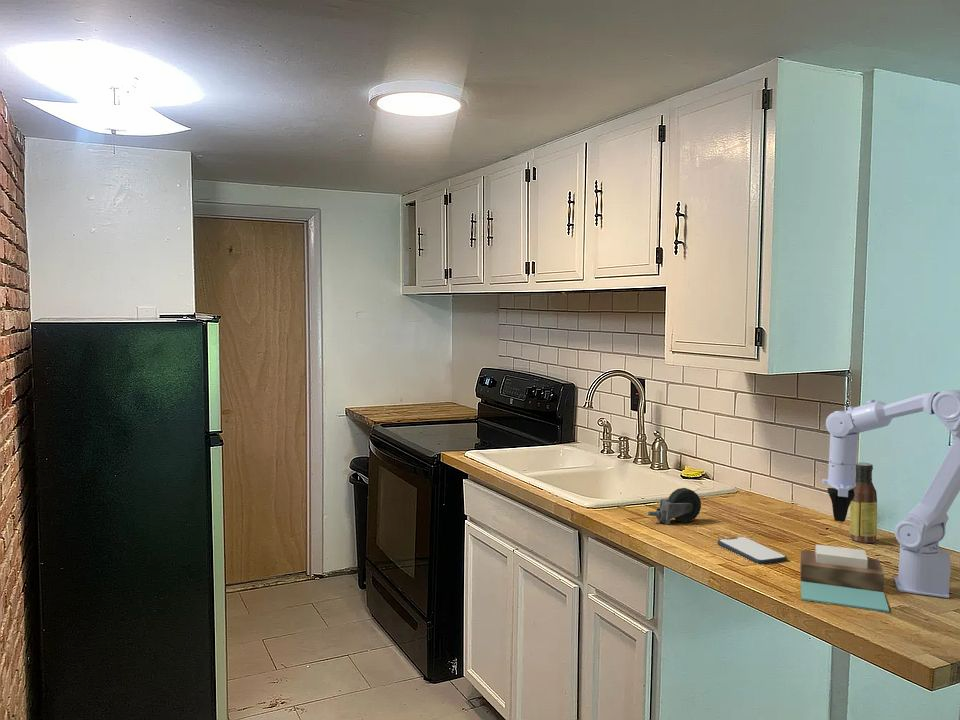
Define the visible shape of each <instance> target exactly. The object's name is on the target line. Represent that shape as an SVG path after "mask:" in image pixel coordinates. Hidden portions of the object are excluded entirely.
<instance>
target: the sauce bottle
mask: <svg viewBox="0 0 960 720" xmlns="http://www.w3.org/2000/svg"><path fill="white" fill-rule="evenodd" d="M873 470H874V466H873V464H872V463H869V462H856V476H855V482H856V487H854V488H852V489H853V490H854V493H855V496H854V498H853V499H852V501H851V503H850V505H849V537H850V539H851V540H852V541H855V542H857V541H858V543H862V544H873V543H876V541H877V536H878V498H877V497H878V496H877V495H878V494H877V490H876V488H875V486H874V483H873Z"/></svg>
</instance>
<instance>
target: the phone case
mask: <svg viewBox="0 0 960 720" xmlns="http://www.w3.org/2000/svg"><path fill="white" fill-rule="evenodd" d="M717 540H718V541H717V546H718V545H719V546H718V547H720V546H721V547H720V548H722V547H723V548H722V549H724V548H726V549H725V550H727V549H728V550H727V551H729V550H730V551H729V552H731V551H732V552H731V553H733V552H734V553H733V554H735V553H736V554H735V555H737V554H739V555H741V556H743V557H745V558H744V559H746V558H747V559H746V560H748V559H749V560H748V561H750V560H751V561H750V562H752V561H753V562H752V563H754V562H755V564H756V563H758V564H757V565H761V564H764V565H770V564H769V563H772V564H777V563H776V562H779V563H784V562H783V561H786V562H787V560H788V558H787V556H786V555H785V554H783V553H780V552H779V551H777V550H774V549H772V548H770V547H768V546H765V545H762V544H761V543H759V542H757V541H754V540H752V539H750V538H748V537H744V536H737V537H727V538H720V539H717ZM739 555H738V556H739ZM741 556H740V557H741ZM743 557H742V558H743Z"/></svg>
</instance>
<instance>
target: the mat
mask: <svg viewBox="0 0 960 720" xmlns="http://www.w3.org/2000/svg"><path fill="white" fill-rule="evenodd" d="M800 593H801V594H800V595H801V601H804V600H805V601H806V600H807V601H806V602H811V601H814V602H813V603H818V602H821V604H825V603H830V604H829V605H832V604H838V605H837V606H839V605H842V606H841V607H846V606H848V608H853V607H856V608H855V609H860V608H862V609H861V610H867V609H869V610H868V611H876V612H881V613H890V609H889V606H888V605H889V604H888V603H887V599H886V596H885V592H884V591H883V592H877V591H870V590H863V589H855V588H848V587H840V586H833V585H826V584H818V583H811V582H803V581H801V580H800ZM843 605H844V606H843Z"/></svg>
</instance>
